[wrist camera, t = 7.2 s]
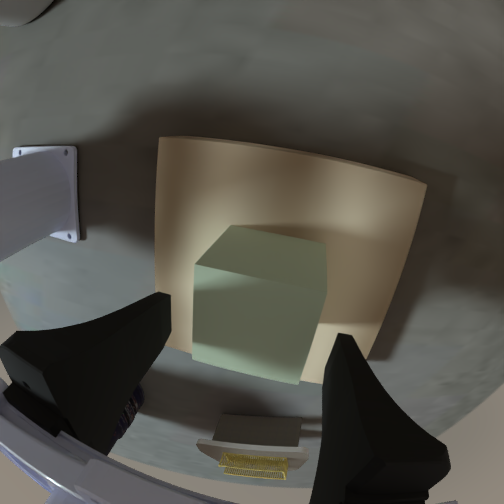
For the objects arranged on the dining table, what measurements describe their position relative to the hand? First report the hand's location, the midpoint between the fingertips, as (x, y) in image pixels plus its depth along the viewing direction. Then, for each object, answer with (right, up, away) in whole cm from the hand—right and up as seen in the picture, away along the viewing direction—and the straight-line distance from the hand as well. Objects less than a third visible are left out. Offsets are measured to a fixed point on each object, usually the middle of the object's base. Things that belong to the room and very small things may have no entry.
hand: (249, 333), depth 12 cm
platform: (+1, -13, +14) cm, 19 cm away
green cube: (+1, +2, +4) cm, 5 cm away
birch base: (+2, +3, +7) cm, 8 cm away
